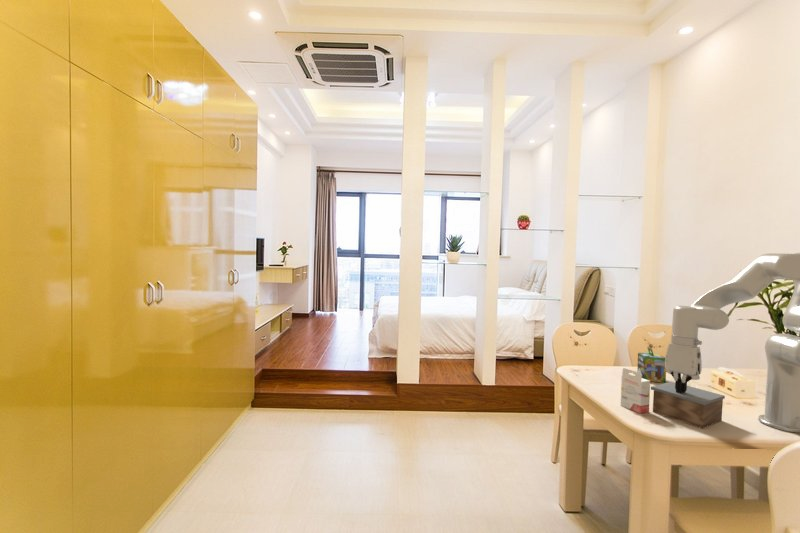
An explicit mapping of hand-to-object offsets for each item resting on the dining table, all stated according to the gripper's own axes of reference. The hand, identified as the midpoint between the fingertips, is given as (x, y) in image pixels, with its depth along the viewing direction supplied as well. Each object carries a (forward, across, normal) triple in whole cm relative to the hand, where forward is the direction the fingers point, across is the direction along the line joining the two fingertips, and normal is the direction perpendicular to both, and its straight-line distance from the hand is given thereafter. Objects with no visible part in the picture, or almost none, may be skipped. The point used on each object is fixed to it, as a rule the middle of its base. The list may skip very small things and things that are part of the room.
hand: (680, 392), depth 144 cm
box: (+9, 0, -4) cm, 10 cm away
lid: (+1, 0, -4) cm, 4 cm away
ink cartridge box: (+10, +13, +6) cm, 17 cm away
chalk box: (+9, +30, -38) cm, 49 cm away
